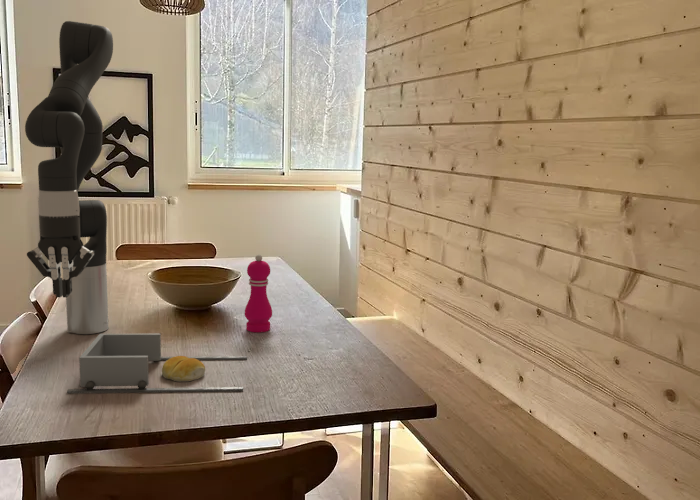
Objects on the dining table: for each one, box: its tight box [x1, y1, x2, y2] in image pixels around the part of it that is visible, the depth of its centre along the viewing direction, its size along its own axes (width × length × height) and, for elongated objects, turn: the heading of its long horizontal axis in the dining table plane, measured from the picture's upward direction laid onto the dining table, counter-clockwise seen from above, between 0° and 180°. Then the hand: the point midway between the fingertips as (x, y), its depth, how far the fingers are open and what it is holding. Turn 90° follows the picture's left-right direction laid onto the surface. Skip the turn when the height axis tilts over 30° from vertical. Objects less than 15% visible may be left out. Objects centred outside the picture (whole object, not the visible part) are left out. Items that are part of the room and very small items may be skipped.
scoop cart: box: [78, 332, 162, 389], centre depth 141 cm, size 13×18×6 cm
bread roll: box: [161, 355, 206, 383], centre depth 143 cm, size 8×9×4 cm
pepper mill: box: [244, 254, 273, 333], centre depth 176 cm, size 7×7×20 cm
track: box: [66, 355, 248, 394], centre depth 143 cm, size 34×20×1 cm, turn 96°
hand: (63, 296), depth 138 cm, fingers closed
